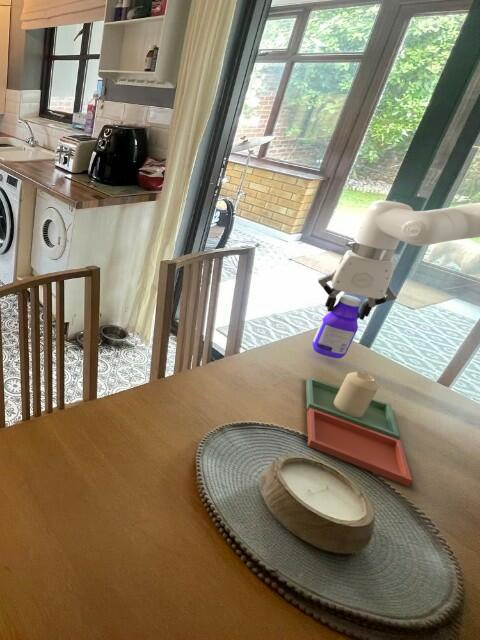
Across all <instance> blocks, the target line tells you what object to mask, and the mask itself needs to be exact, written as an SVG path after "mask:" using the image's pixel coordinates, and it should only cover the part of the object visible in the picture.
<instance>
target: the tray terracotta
mask: <svg viewBox="0 0 480 640" xmlns="http://www.w3.org/2000/svg"><path fill="white" fill-rule="evenodd" d="M306 421H307V424H306V425H307V446H308V447H310V448H312V449H315V450H317V451H320V452H322V453H324V454H326V455H327V454H328V455H330V456H332V457H335V458H337V459H339V460H342V461H345V462H347V463H349V464H352V465H354V466H357V467H358V468H361V469H364V470H367V471H369V472H371V473H374V474H377V475H378V476H381V477H384V478H387V479H389V480H391V481H394V482H396V483H398V484H402V485H403V486H406V487H409V486H410V485H411V483H412V482H413V478H412V474H411V471H410V467H409V464H408V461H407V457H406V453H405V449H404V448H403V443H402V440H400V439H398V440H397V439H394V438H392V437H389V436H386V435H383V434H381V433H378V432H375V431H373V430H370V429H367V428H364V427H362V426H359V425H356V424H353V423H351V422H348V421H345V420H342V419H340V418H337V417H334V416H331V415H329V414H326V413H323V412H320V411H318V410H315V409H312V408H309V410H308V409H307V412H306Z"/></svg>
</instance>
